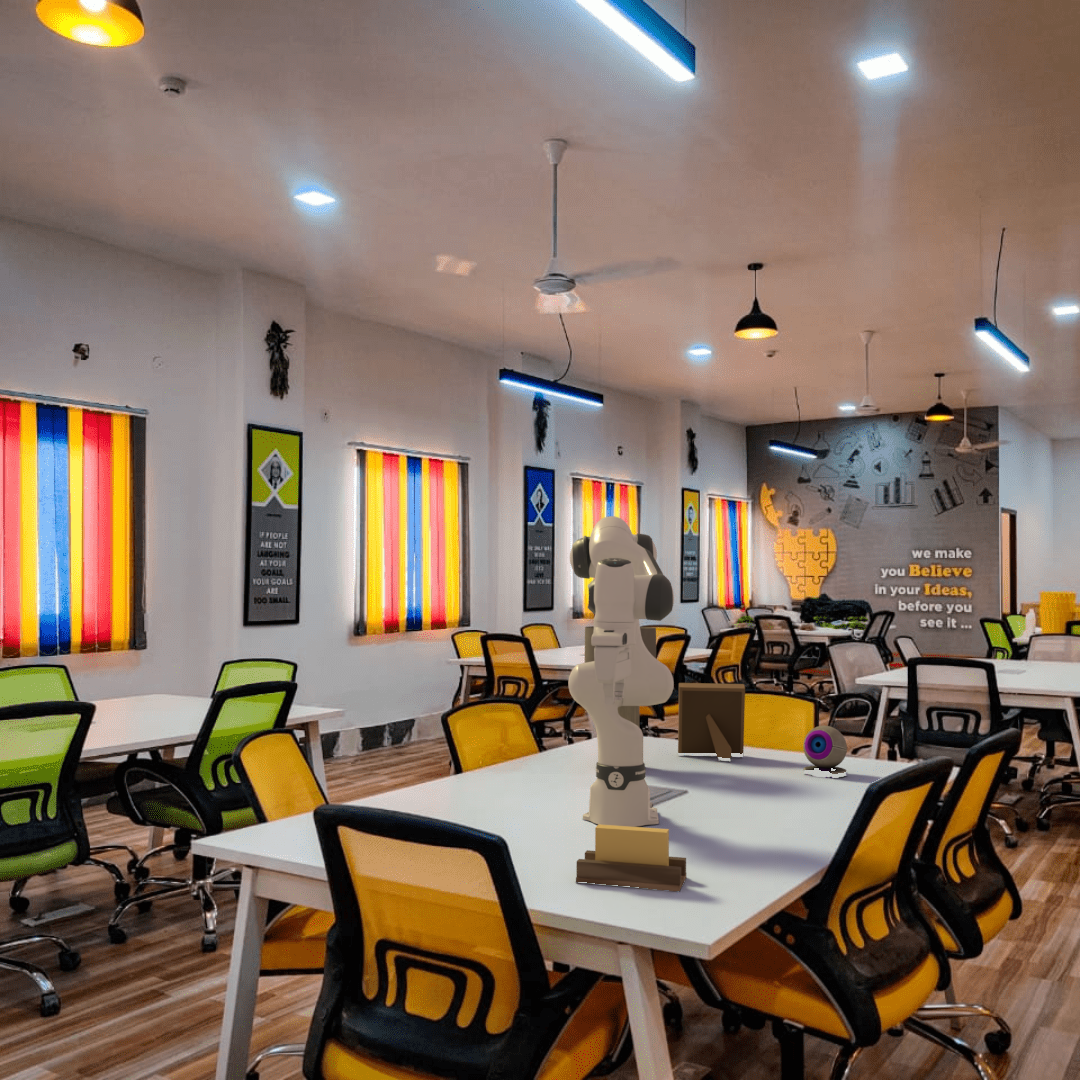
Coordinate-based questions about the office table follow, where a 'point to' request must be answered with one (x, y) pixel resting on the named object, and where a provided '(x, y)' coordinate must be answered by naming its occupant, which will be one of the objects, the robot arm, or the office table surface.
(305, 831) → the office table surface
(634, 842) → the door panel
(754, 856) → the office table surface
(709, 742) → the photo frame
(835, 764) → the webcam
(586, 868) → the sliding track
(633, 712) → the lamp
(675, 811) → the office table surface
